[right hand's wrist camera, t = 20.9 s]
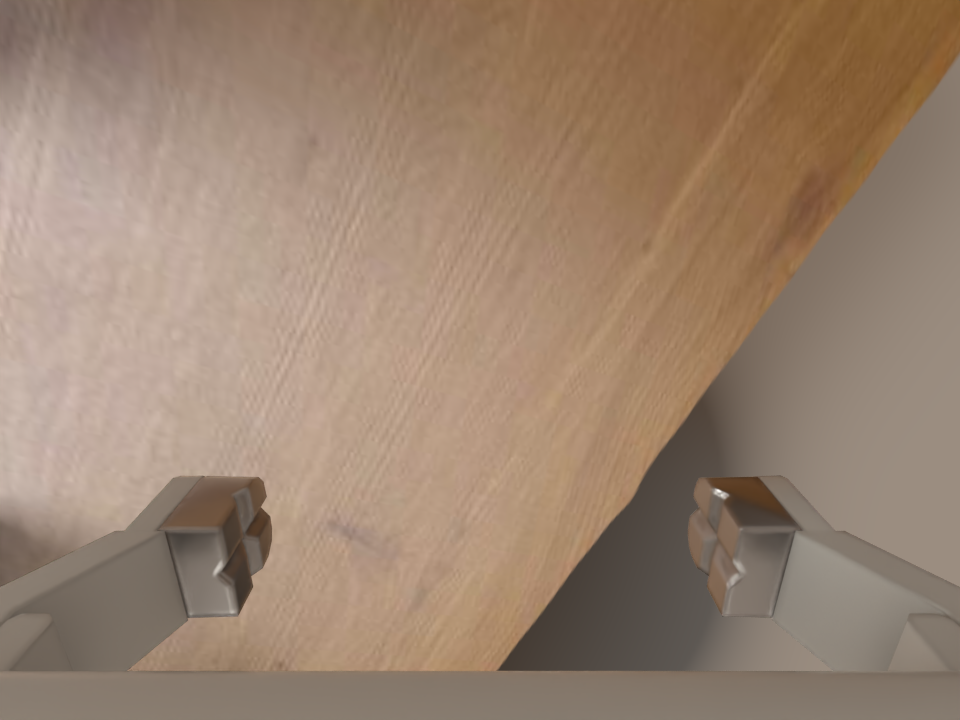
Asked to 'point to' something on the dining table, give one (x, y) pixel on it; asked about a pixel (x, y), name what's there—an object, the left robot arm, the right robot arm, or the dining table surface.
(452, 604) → the dining table surface
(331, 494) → the dining table surface
